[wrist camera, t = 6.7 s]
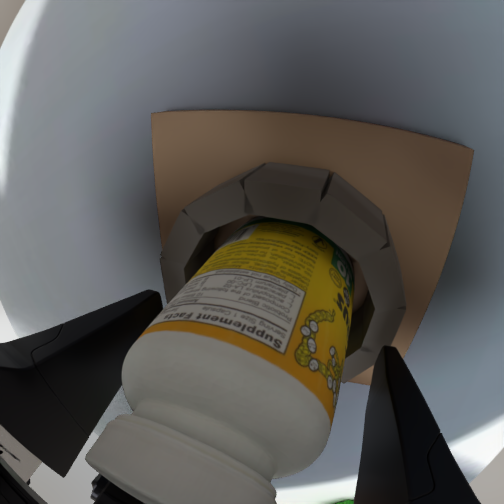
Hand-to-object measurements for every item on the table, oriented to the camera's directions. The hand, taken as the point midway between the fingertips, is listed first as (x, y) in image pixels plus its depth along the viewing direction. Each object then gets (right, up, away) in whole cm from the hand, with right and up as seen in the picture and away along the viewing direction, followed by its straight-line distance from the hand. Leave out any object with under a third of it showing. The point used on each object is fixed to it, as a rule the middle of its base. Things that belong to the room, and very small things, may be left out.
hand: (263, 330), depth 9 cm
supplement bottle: (+1, +2, +3) cm, 4 cm away
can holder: (+1, +2, +4) cm, 4 cm away
